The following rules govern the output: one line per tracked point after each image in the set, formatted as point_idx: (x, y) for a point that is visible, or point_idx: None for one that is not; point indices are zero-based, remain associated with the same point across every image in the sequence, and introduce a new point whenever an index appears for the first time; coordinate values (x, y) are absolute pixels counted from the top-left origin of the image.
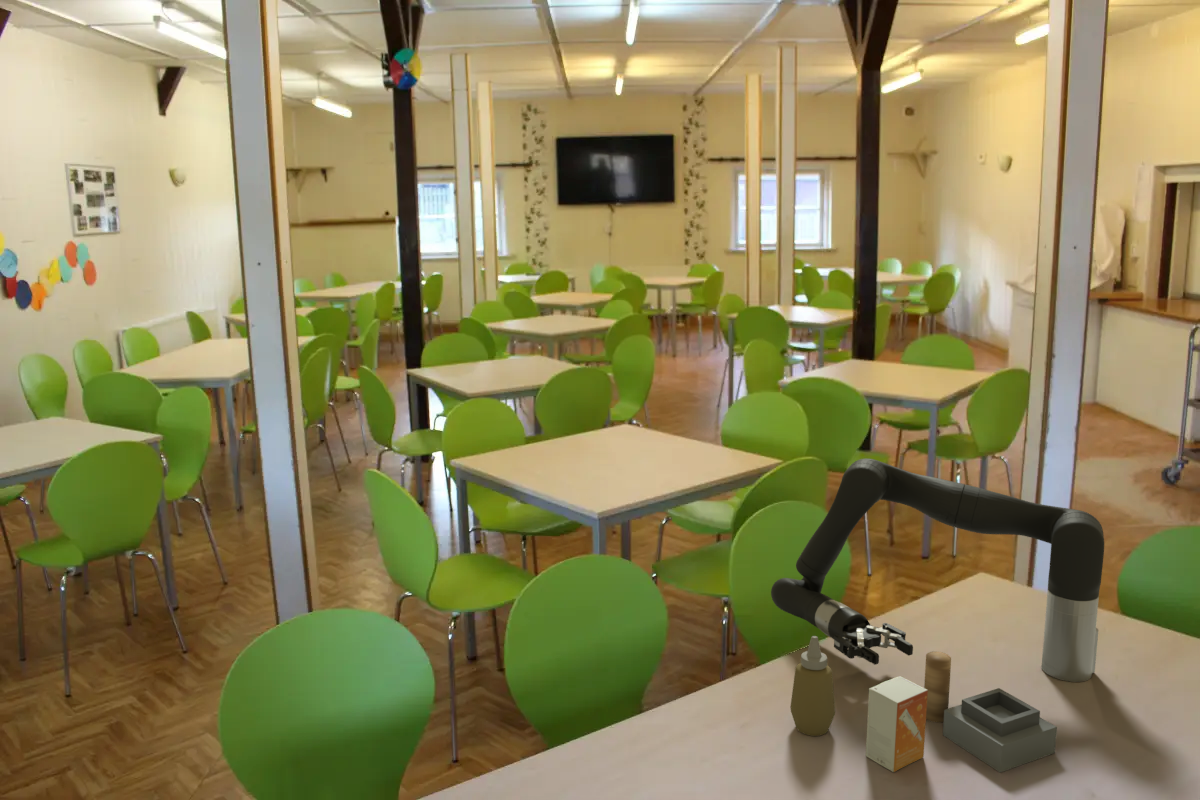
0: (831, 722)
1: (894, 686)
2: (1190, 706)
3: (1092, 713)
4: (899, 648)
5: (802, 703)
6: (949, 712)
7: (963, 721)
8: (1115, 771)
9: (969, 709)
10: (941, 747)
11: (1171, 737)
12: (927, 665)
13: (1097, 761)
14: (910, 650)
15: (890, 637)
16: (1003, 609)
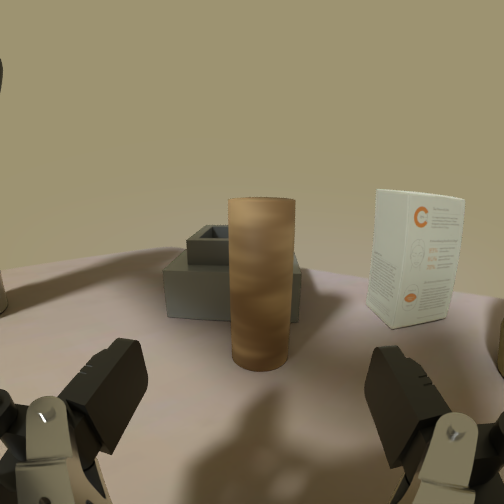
0: (499, 345)
1: (426, 193)
2: (31, 265)
3: (77, 283)
4: (116, 432)
5: None
6: (298, 269)
7: (296, 260)
8: None
9: None
10: (324, 309)
11: (92, 259)
12: (294, 221)
13: None
14: (141, 357)
15: (78, 458)
16: None
